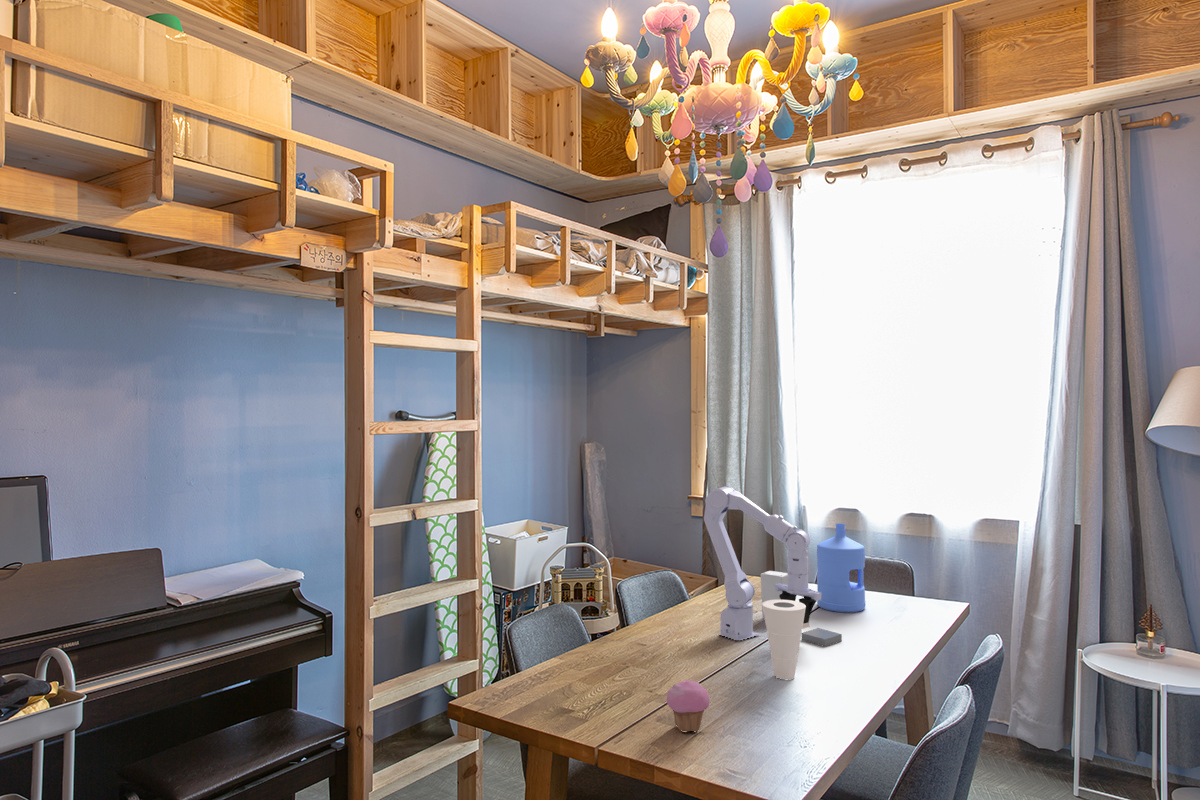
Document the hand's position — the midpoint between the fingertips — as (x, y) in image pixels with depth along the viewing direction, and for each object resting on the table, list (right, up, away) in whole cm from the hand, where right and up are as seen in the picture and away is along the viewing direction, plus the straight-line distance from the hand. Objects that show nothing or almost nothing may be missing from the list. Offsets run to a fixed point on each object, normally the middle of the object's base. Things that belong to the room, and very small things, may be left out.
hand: (797, 620), depth 215 cm
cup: (-10, -6, -27) cm, 30 cm away
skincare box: (0, -7, +25) cm, 26 cm away
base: (+8, -7, +3) cm, 10 cm away
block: (0, -2, 0) cm, 2 cm away
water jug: (+25, -7, +39) cm, 47 cm away
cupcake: (-38, -6, -58) cm, 70 cm away
